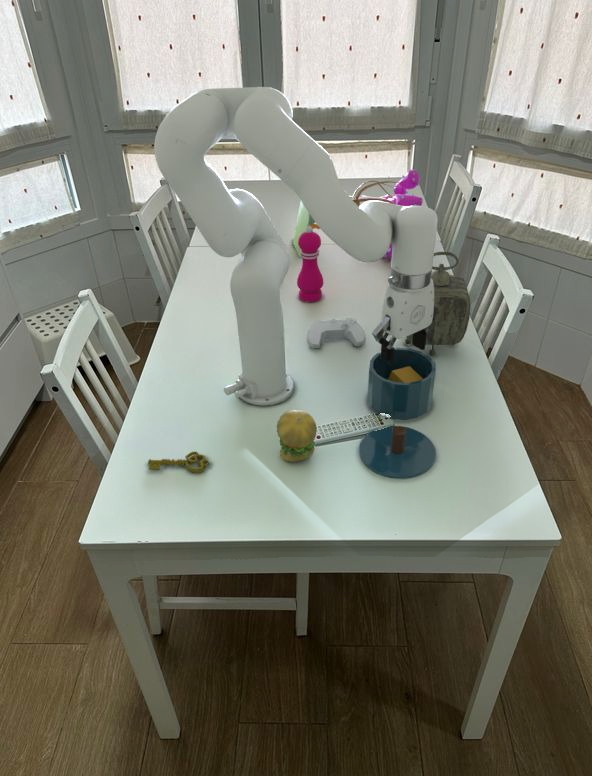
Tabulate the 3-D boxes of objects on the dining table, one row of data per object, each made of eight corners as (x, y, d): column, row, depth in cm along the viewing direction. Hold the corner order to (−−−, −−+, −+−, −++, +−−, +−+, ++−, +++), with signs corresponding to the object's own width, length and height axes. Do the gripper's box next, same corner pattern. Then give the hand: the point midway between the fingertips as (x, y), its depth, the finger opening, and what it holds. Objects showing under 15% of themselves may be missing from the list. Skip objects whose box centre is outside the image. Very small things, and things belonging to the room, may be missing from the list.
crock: (397, 430, 129) (401, 393, 123) (354, 399, 137) (356, 362, 131) (444, 405, 135) (449, 368, 129) (400, 376, 143) (403, 340, 137)
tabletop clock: (459, 341, 154) (474, 244, 138) (463, 361, 147) (480, 262, 132) (399, 340, 155) (408, 243, 139) (401, 360, 148) (411, 261, 132)
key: (145, 467, 120) (151, 449, 124) (146, 472, 121) (152, 454, 125) (207, 469, 119) (211, 451, 123) (207, 473, 120) (211, 456, 124)
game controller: (307, 343, 149) (304, 314, 156) (307, 356, 153) (304, 328, 159) (368, 339, 150) (362, 311, 156) (366, 352, 153) (361, 324, 160)
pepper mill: (320, 304, 170) (320, 232, 158) (294, 302, 172) (292, 231, 159) (325, 291, 176) (325, 221, 163) (300, 289, 177) (298, 220, 164)
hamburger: (306, 441, 127) (305, 394, 119) (324, 463, 122) (324, 414, 114) (272, 454, 124) (268, 406, 116) (288, 476, 119) (286, 428, 111)
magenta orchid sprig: (304, 138, 186) (418, 151, 191) (292, 219, 209) (395, 229, 213) (307, 199, 169) (433, 212, 173) (294, 280, 192) (405, 290, 196)
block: (399, 406, 132) (409, 387, 129) (382, 390, 135) (391, 370, 131) (416, 401, 135) (426, 382, 132) (400, 385, 138) (409, 365, 134)
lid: (395, 492, 115) (397, 467, 111) (343, 450, 124) (344, 426, 121) (451, 458, 122) (455, 434, 118) (398, 420, 131) (400, 397, 127)
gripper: (389, 297, 111) (383, 378, 122) (457, 269, 119) (446, 348, 130) (362, 282, 116) (358, 361, 127) (429, 256, 124) (420, 333, 135)
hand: (402, 354), depth 128 cm, fingers open, 8 cm apart
